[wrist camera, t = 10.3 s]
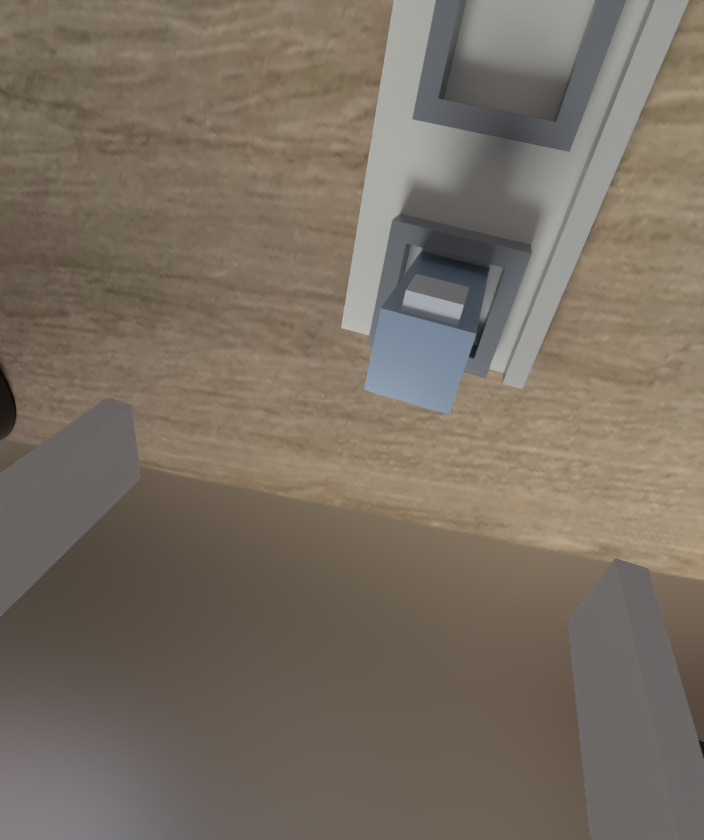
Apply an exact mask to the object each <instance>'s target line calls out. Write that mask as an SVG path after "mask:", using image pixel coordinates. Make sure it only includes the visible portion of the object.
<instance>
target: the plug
mask: <svg viewBox="0 0 704 840" xmlns="http://www.w3.org/2000/svg"><path fill="white" fill-rule="evenodd" d="M488 273H489V268H487V267H483V266H479V265H475V264H471V263H467V262H463V261H459V260H455V259H451V258H447V257H443V256H439V255H435V254H431V253H427V252H423V251H421V252H420V254H419V255H418V256H417V258H416V259H415V261H414V262H413V263H412V265H411V266H410V268H409V269H408V270H407V272H406V273H405V275H404V276H403V278H402V279H401V280H400V282H399V283H398V285H397V286H396V287H395V289H394V290H393V292H392V293H391V295H390V296H389V297H388V299H387V300H386V302H385V303H384V304H383V306H382V307H381V310H380V315H379V320H378V324H377V329H376V334H375V339H374V344H373V349H372V353H371V358H370V363H369V368H368V373H367V378H366V382H365V387H364V390H366V391H369V392H373V393H376V394H379V395H383V396H386V397H390V398H393V399H396V400H400V401H403V402H406V403H410V404H413V405H417V406H420V407H423V408H427V409H430V410H433V411H437V412H440V413H444V414H447V415H449V414H450V411H451V408H452V405H453V402H454V399H455V396H456V393H457V390H458V387H459V384H460V381H461V378H462V375H463V372H464V369H465V366H466V363H467V360H468V357H469V354H470V351H471V348H472V346H473V343H474V340H475V337H476V334H477V329H478V323H479V318H480V313H481V308H482V303H483V298H484V293H485V288H486V283H487V278H488Z"/></svg>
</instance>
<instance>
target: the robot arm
mask: <svg viewBox="0 0 704 840" xmlns="http://www.w3.org/2000/svg"><path fill="white" fill-rule="evenodd" d="M14 422H15V410H14V404H13V400H12V397H11V394H10V392H9V389H8V387H7V385H6V383H5V381H4V379H3V377H2V376H1V374H0V441H1V440H2V439H4V438H5V437H7V436H8V435H9V434H10V432H11V431H12V429H13V426H14ZM139 479H140V470H139V462H138V454H137V445H136V437H135V429H134V421H133V413H132V405H129V404H126V403H123V402H120V401H117V400H113V399H110V398H106V399H105V400H103V401H102V402H100V403H99V404H98V405H96V406H95V407H93V408H92V409H90V410H89V411H88V412H86V413H85V414H83V415H82V416H81V417H79V418H78V419H76V420H75V421H73V422H72V423H71V424H69V425H68V426H66V427H65V428H64V429H62V430H61V431H59V432H58V433H56V434H55V435H54V436H52V437H51V438H49V439H48V440H47V441H45V442H44V443H42V444H41V445H39V446H38V447H37V448H35V449H34V450H32V451H31V452H30V453H28V454H27V455H25V456H24V457H22V458H21V459H20V460H18V461H17V462H15V463H14V464H13V465H11V466H10V467H8V468H7V469H5V470H4V471H3V472H1V473H0V616H1V615H2V614H3V613H4V612H5V611H6V610H7V609H8V608H9V607H10V606H11V605H12V604H13V603H15V601H16V600H18V599H19V598H20V597H21V596H22V595H23V594H24V593H25V592H26V591H27V590H28V589H29V588H30V587H31V586H32V585H33V584H34V583H35V582H36V581H37V580H38V579H39V578H40V577H41V576H42V575H43V574H44V573H45V572H46V571H47V570H48V569H49V568H50V567H51V566H52V565H53V564H54V563H55V562H56V561H57V560H58V559H59V558H60V557H61V556H62V555H63V554H64V553H65V552H66V551H67V550H68V549H69V548H70V547H71V546H72V545H73V544H74V543H75V542H76V541H77V540H78V539H79V538H80V537H82V536H83V535H84V534H85V533H86V531H88V530H89V529H90V527H92V526H93V525H94V524H95V523H96V522H97V521H98V520H99V519H100V518H101V517H102V516H103V515H104V514H105V513H106V512H107V511H108V510H109V509H110V508H111V507H112V506H113V505H114V504H115V503H116V502H117V501H118V500H119V499H120V498H121V497H122V496H123V495H124V494H125V493H126V492H127V491H128V490H129V489H130V488H131V487H132V486H133V485H134V484H135V483H136V482H137V481H138V480H139ZM568 630H569V640H570V650H571V659H572V668H573V678H574V688H575V696H576V707H577V716H578V726H579V735H580V744H581V754H582V764H583V773H584V783H585V792H586V802H587V812H588V821H589V831H590V840H704V742H702V741H699V740H698V737H697V734H696V731H695V727H694V724H693V720H692V717H691V714H690V710H689V707H688V703H687V700H686V697H685V693H684V690H683V686H682V683H681V679H680V676H679V673H678V669H677V666H676V662H675V659H674V655H673V652H672V649H671V645H670V642H669V638H668V635H667V632H666V628H665V625H664V621H663V618H662V614H661V611H660V608H659V604H658V601H657V597H656V594H655V591H654V587H653V584H652V580H651V577H650V573H649V570H648V568H645V567H641V566H638V565H635V564H632V563H629V562H626V561H622V560H619V559H616V558H615V559H614V561H613V562H612V563H611V565H610V566H609V567H608V569H607V570H606V572H605V573H604V574H603V576H602V577H601V578H600V580H599V581H598V582H597V584H596V585H595V587H594V588H593V589H592V591H591V592H590V593H589V595H588V596H587V597H586V599H585V600H584V602H583V603H582V604H581V606H580V607H579V608H578V610H577V611H576V612H575V614H574V615H573V617H572V618H571V619H570V621H569V622H568Z"/></svg>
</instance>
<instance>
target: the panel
mask: <svg viewBox="0 0 704 840" xmlns="http://www.w3.org/2000/svg"><path fill="white" fill-rule="evenodd" d="M688 2H689V0H394V3H393V9H392V15H391V21H390V28H389V34H388V40H387V46H386V52H385V59H384V65H383V71H382V77H381V84H380V90H379V96H378V102H377V108H376V115H375V121H374V127H373V133H372V140H371V146H370V152H369V158H368V164H367V171H366V177H365V183H364V189H363V196H362V202H361V208H360V214H359V221H358V227H357V233H356V239H355V245H354V252H353V258H352V264H351V270H350V277H349V283H348V289H347V295H346V301H345V308H344V314H343V320H342V326H341V328H344V329H348V330H351V331H355V332H358V333H362V334H366V335H369V339H368V344H367V345H370V346H373V344H374V339H375V334H376V329H377V324H378V320H379V315H380V310H381V307H382V306H383V304H384V303H385V302H386V300H387V299H388V297H389V296H390V295H391V293H392V292H393V290H394V289H395V287H396V286H397V285H398V283H399V282H400V280H401V279H402V278H403V276H404V275H405V273H406V272H407V270H408V269H409V268H410V266H411V265H412V263H413V262H414V261H415V259H416V258H417V256H418V255H419V254H420V252H421V251H423V252H427V253H431V254H435V255H439V256H443V257H447V258H451V259H455V260H459V261H463V262H467V263H471V264H475V265H479V266H483V267H487V268H489V273H488V278H487V283H486V288H485V293H484V298H483V303H482V308H481V313H480V318H479V323H478V329H477V334H476V337H475V340H474V343H473V346H472V348H471V351H470V354H469V357H468V360H467V363H466V366H465V369H464V372H466V373H469V374H473V375H476V376H480V377H483V378H486V375H487V373H488V370H489V369H491V370H495V371H498V372H502V373H503V382H502V384H505V385H509V386H512V387H516V388H519V389H522V388H523V386H524V384H525V381H526V379H527V377H528V374H529V372H530V370H531V368H532V365H533V363H534V361H535V358H536V356H537V354H538V351H539V349H540V347H541V344H542V342H543V340H544V337H545V335H546V333H547V330H548V328H549V326H550V323H551V321H552V319H553V316H554V314H555V312H556V309H557V307H558V305H559V302H560V300H561V298H562V295H563V293H564V291H565V288H566V286H567V284H568V281H569V279H570V277H571V274H572V272H573V270H574V267H575V265H576V263H577V260H578V258H579V256H580V253H581V251H582V249H583V246H584V244H585V242H586V239H587V237H588V235H589V232H590V230H591V228H592V225H593V223H594V221H595V218H596V216H597V214H598V211H599V209H600V207H601V204H602V202H603V200H604V197H605V195H606V193H607V190H608V188H609V186H610V183H611V181H612V179H613V176H614V174H615V172H616V169H617V167H618V165H619V162H620V160H621V158H622V155H623V153H624V151H625V148H626V146H627V144H628V141H629V139H630V137H631V134H632V132H633V130H634V127H635V125H636V123H637V120H638V118H639V116H640V113H641V111H642V109H643V106H644V104H645V102H646V99H647V97H648V95H649V92H650V90H651V88H652V85H653V83H654V81H655V78H656V76H657V74H658V72H659V69H660V67H661V65H662V62H663V60H664V58H665V55H666V53H667V51H668V48H669V46H670V44H671V41H672V39H673V37H674V34H675V32H676V30H677V27H678V25H679V23H680V20H681V18H682V16H683V13H684V11H685V9H686V6H687V4H688Z"/></svg>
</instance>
